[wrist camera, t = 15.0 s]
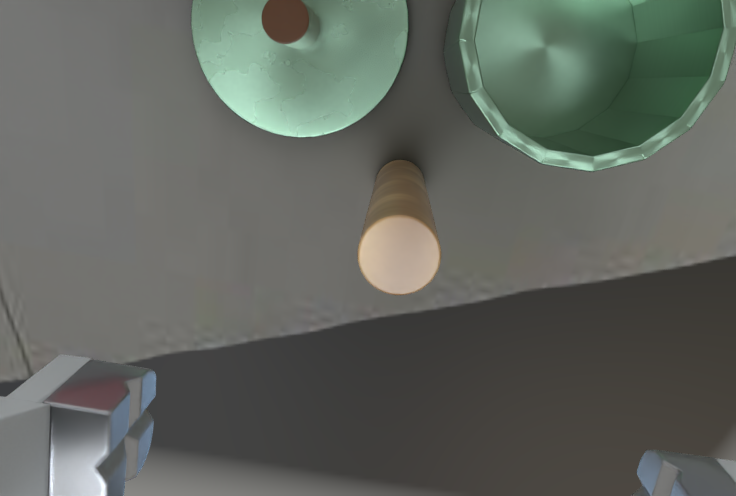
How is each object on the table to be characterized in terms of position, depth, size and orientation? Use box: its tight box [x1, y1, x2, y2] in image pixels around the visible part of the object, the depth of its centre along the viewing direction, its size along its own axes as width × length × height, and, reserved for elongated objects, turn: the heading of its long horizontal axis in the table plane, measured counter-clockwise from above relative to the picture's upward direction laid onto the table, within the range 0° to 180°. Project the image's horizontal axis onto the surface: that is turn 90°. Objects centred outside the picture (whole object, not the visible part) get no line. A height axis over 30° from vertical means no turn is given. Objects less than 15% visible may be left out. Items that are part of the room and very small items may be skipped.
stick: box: [357, 160, 441, 295], centre depth 31 cm, size 3×3×17 cm
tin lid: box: [191, 0, 409, 138], centre depth 35 cm, size 12×12×6 cm
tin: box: [443, 0, 736, 172], centre depth 32 cm, size 11×11×10 cm
